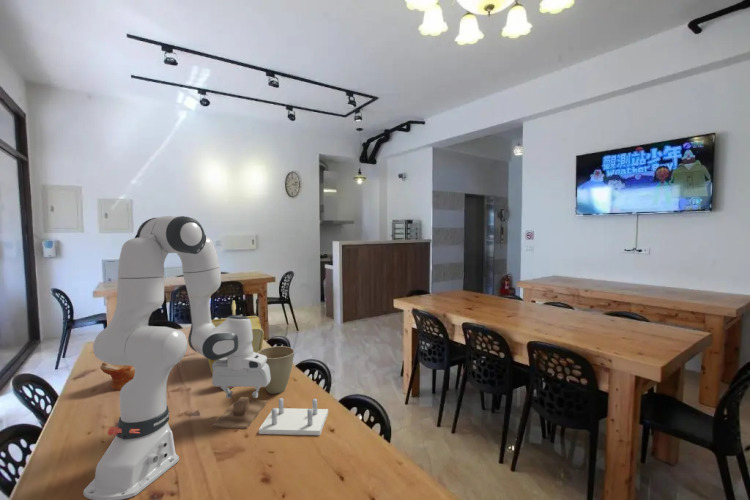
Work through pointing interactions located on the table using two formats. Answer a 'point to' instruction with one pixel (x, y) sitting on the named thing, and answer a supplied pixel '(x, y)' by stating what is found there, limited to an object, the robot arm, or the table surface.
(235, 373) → the robot arm
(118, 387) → the brown lumpy piece
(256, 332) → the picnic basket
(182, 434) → the table surface
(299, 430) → the peg stand
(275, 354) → the plant pot
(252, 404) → the shelf board
